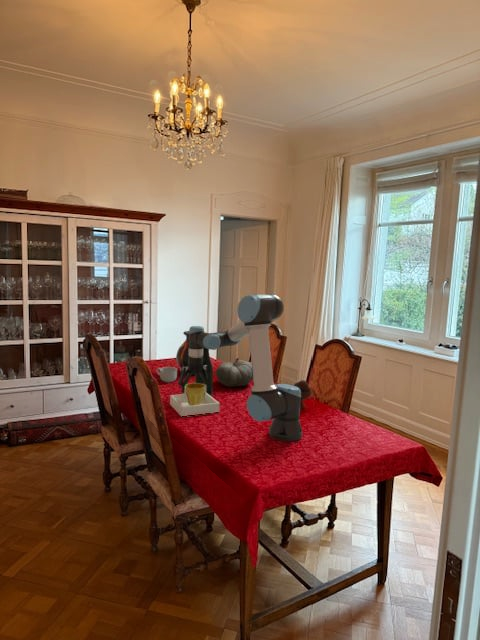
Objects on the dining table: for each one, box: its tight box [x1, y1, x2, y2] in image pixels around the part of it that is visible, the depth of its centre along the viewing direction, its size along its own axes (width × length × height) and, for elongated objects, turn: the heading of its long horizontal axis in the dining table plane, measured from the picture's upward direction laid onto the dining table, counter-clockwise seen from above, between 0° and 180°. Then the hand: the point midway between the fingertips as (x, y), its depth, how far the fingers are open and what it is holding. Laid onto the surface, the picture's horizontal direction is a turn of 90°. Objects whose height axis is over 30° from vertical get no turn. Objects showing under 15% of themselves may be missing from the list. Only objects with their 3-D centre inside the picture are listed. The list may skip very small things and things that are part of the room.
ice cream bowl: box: [293, 379, 313, 409], centre depth 241 cm, size 11×11×15 cm
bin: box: [169, 393, 220, 417], centre depth 231 cm, size 20×20×5 cm
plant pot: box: [185, 382, 205, 405], centre depth 231 cm, size 10×10×10 cm
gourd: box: [215, 357, 253, 388], centre depth 277 cm, size 25×25×17 cm
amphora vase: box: [175, 330, 195, 376], centre depth 300 cm, size 22×22×28 cm
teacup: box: [156, 366, 178, 383], centre depth 279 cm, size 14×11×8 cm
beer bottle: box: [194, 347, 214, 397], centre depth 253 cm, size 10×10×33 cm
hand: (194, 397), depth 231 cm, fingers closed on plant pot, 10 cm apart
